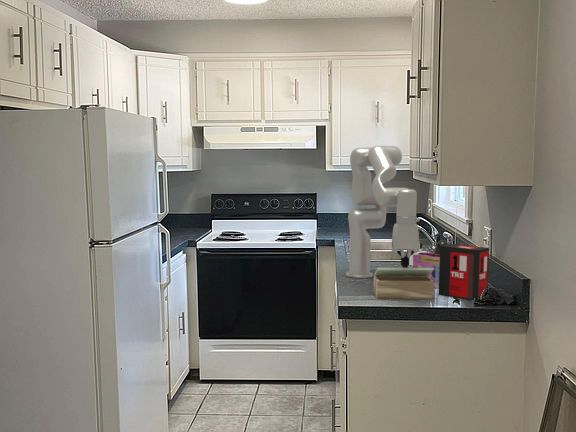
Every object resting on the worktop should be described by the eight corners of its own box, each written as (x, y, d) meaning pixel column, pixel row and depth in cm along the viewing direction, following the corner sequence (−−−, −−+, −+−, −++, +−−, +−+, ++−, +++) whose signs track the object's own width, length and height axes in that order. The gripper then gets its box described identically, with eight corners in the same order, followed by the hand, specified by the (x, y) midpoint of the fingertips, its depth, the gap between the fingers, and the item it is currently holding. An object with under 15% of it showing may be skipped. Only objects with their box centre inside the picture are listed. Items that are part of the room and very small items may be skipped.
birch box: (373, 293, 247) (373, 276, 246) (427, 293, 247) (427, 276, 247) (377, 298, 237) (377, 281, 236) (433, 299, 237) (433, 281, 237)
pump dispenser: (426, 270, 297) (427, 240, 295) (439, 268, 304) (440, 238, 302) (444, 274, 289) (445, 242, 288) (456, 271, 296) (457, 240, 294)
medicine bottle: (412, 263, 318) (412, 240, 317) (425, 264, 314) (425, 241, 313) (406, 265, 312) (407, 242, 311) (419, 266, 308) (420, 243, 307)
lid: (374, 275, 246) (374, 274, 246) (427, 276, 246) (427, 274, 247) (378, 269, 237) (377, 267, 237) (433, 269, 237) (432, 268, 237)
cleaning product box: (438, 295, 245) (440, 245, 243) (448, 291, 251) (450, 243, 249) (477, 301, 234) (479, 250, 232) (487, 297, 240) (489, 247, 238)
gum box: (408, 284, 264) (409, 253, 263) (416, 281, 271) (417, 251, 269) (462, 292, 250) (463, 259, 249) (469, 289, 256) (470, 257, 255)
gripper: (422, 220, 240) (421, 265, 242) (385, 219, 240) (384, 265, 242) (427, 222, 233) (426, 269, 235) (388, 221, 233) (387, 268, 235)
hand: (404, 267), depth 238 cm, fingers closed
